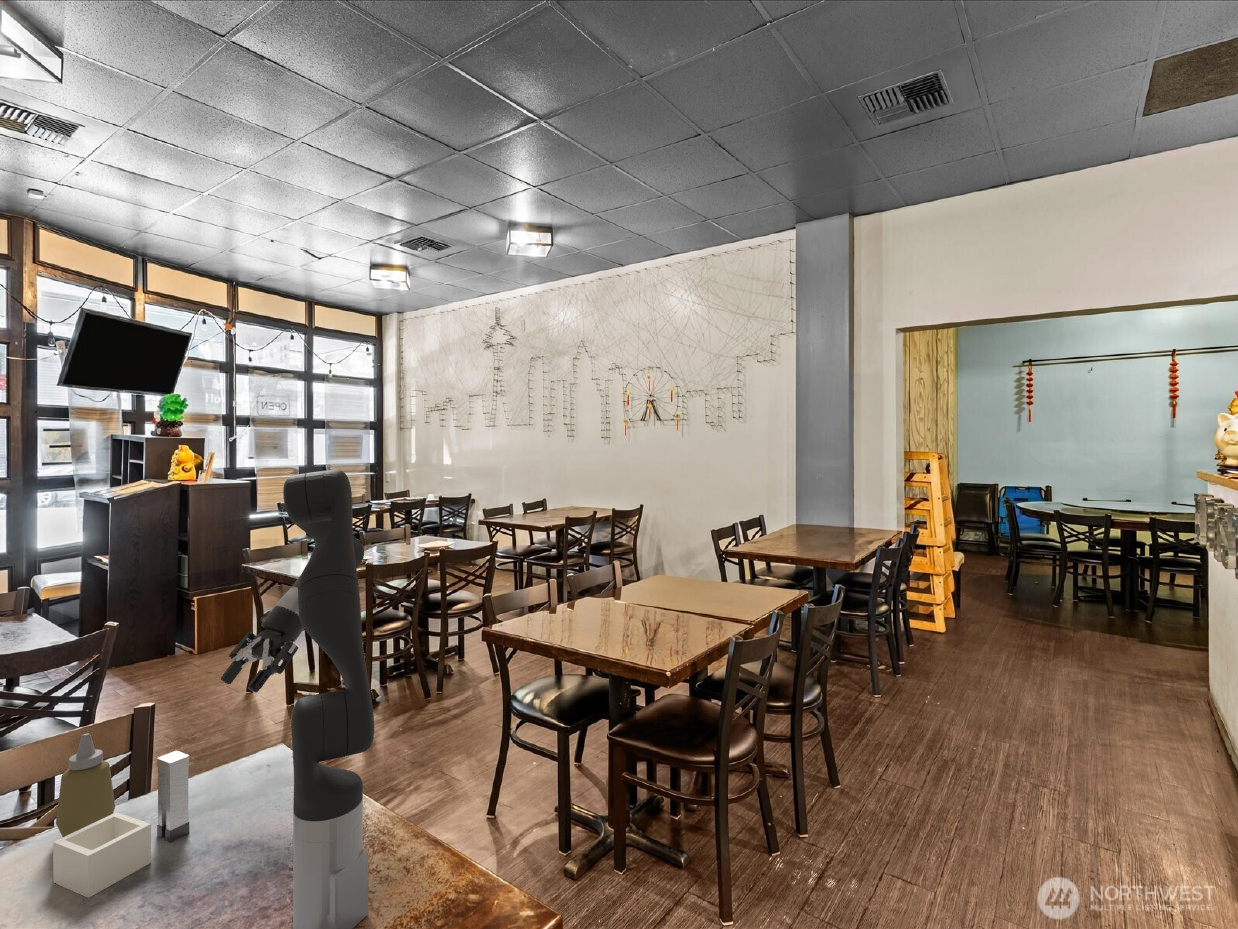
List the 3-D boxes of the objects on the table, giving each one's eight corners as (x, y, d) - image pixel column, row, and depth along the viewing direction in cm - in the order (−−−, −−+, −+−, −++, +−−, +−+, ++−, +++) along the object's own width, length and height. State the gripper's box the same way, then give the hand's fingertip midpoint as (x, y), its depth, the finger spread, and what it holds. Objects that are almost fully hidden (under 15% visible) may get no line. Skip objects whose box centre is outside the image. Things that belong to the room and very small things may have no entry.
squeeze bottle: (115, 817, 117) (114, 721, 117) (115, 837, 111) (115, 736, 111) (57, 833, 112) (56, 733, 112) (54, 855, 106) (53, 749, 106)
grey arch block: (189, 833, 112) (189, 755, 112) (169, 842, 110) (169, 763, 109) (176, 827, 114) (176, 750, 114) (157, 836, 111) (156, 758, 111)
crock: (150, 862, 104) (150, 824, 104) (88, 898, 96) (88, 856, 96) (116, 849, 108) (116, 812, 108) (53, 882, 99) (53, 842, 99)
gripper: (258, 600, 133) (202, 670, 123) (303, 609, 126) (247, 684, 116) (281, 619, 138) (229, 688, 128) (326, 628, 131) (274, 702, 121)
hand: (238, 686), depth 122 cm, fingers open, 8 cm apart
